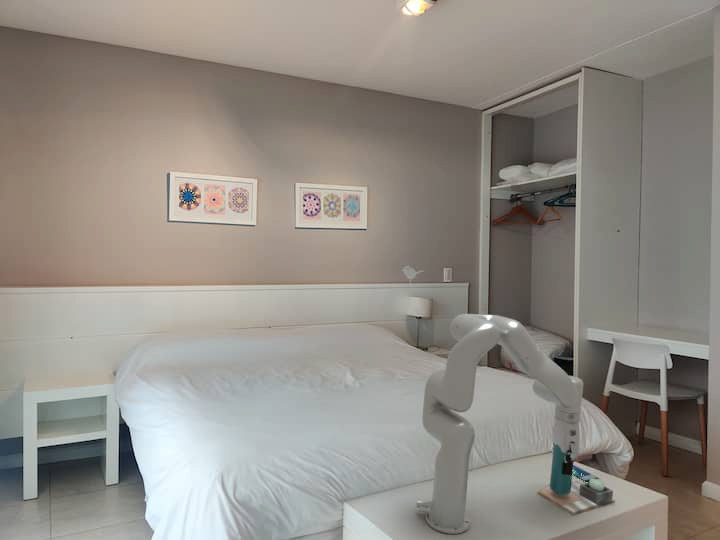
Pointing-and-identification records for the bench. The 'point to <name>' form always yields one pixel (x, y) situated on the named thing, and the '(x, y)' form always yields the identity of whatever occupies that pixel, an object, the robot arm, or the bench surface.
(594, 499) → the wooden tray
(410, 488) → the bench surface
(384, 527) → the bench surface
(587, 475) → the smartphone
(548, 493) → the terracotta square
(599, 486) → the button
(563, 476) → the beverage bottle
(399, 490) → the bench surface
